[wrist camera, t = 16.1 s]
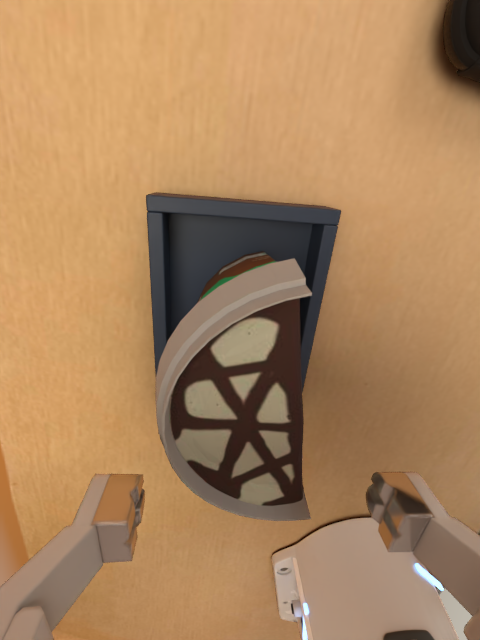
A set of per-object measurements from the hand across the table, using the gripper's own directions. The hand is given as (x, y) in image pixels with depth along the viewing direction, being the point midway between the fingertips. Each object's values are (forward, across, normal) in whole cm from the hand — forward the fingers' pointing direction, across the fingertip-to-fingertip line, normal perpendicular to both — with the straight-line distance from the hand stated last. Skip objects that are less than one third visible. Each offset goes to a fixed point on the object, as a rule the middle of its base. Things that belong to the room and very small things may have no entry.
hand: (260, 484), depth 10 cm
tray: (+12, 0, -1) cm, 12 cm away
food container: (+11, +1, -1) cm, 11 cm away
